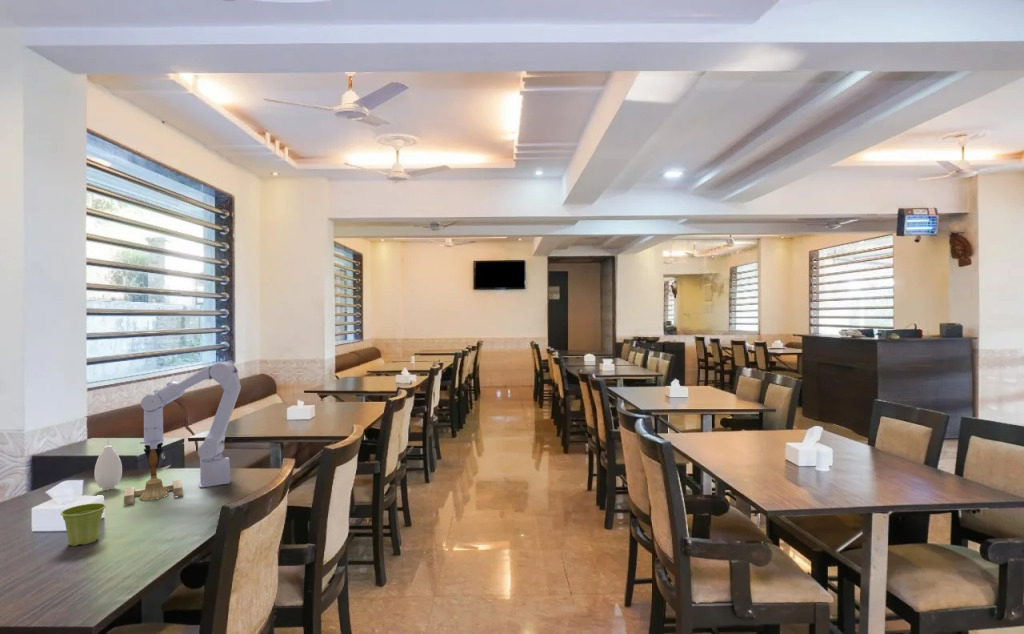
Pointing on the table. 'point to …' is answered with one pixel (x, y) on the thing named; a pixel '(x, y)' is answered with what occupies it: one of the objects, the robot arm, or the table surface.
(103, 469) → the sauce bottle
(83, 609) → the table surface
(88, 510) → the plant pot
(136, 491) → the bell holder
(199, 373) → the robot arm
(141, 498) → the hand bell
